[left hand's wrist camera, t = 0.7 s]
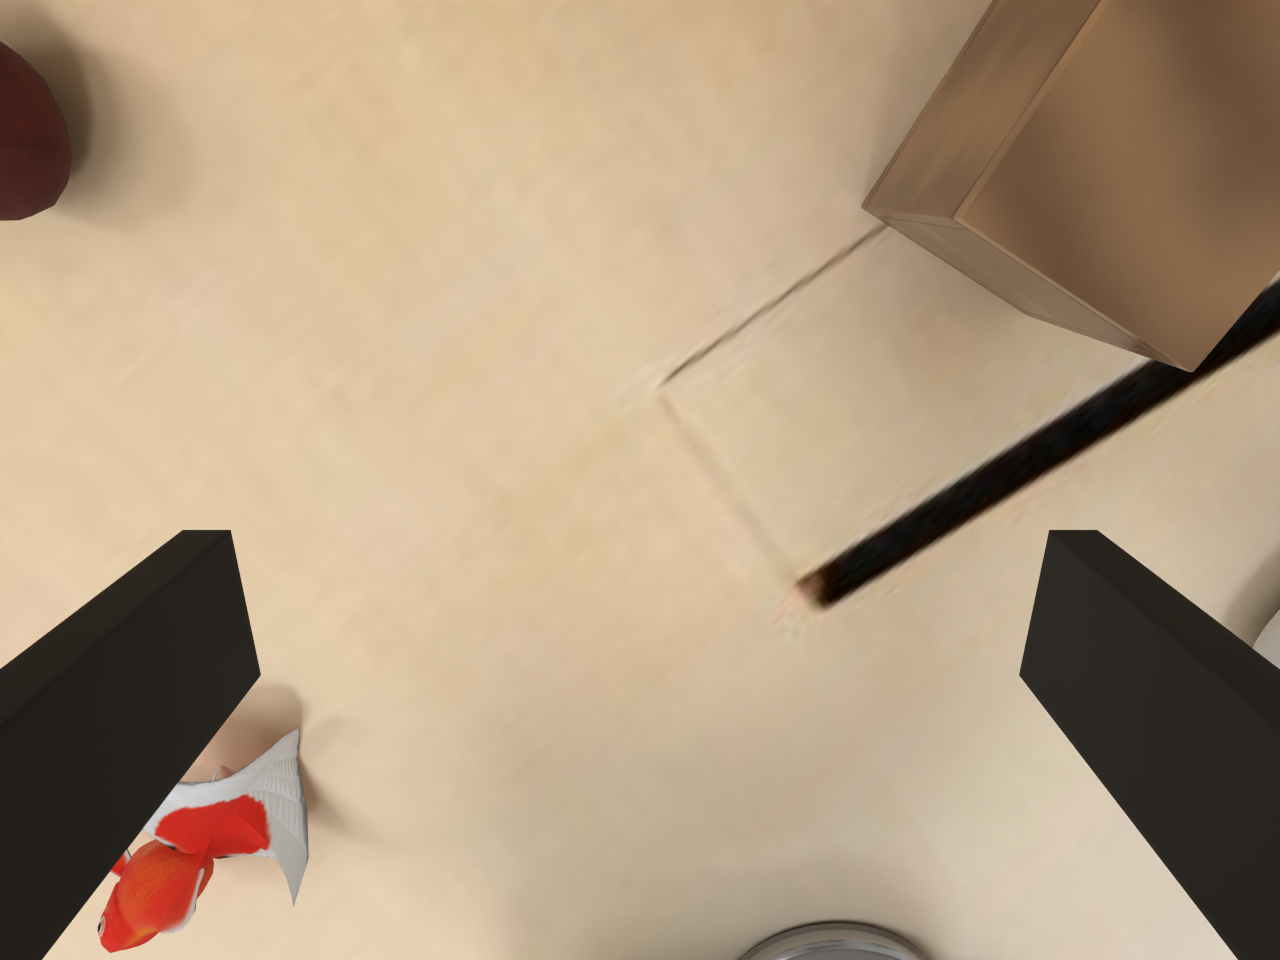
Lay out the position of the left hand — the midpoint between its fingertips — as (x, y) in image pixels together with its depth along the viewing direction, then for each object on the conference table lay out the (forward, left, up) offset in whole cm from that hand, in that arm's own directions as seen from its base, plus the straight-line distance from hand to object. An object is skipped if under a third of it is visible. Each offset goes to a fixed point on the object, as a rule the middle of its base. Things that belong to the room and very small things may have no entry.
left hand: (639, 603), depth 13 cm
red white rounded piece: (-28, +25, -26) cm, 46 cm away
